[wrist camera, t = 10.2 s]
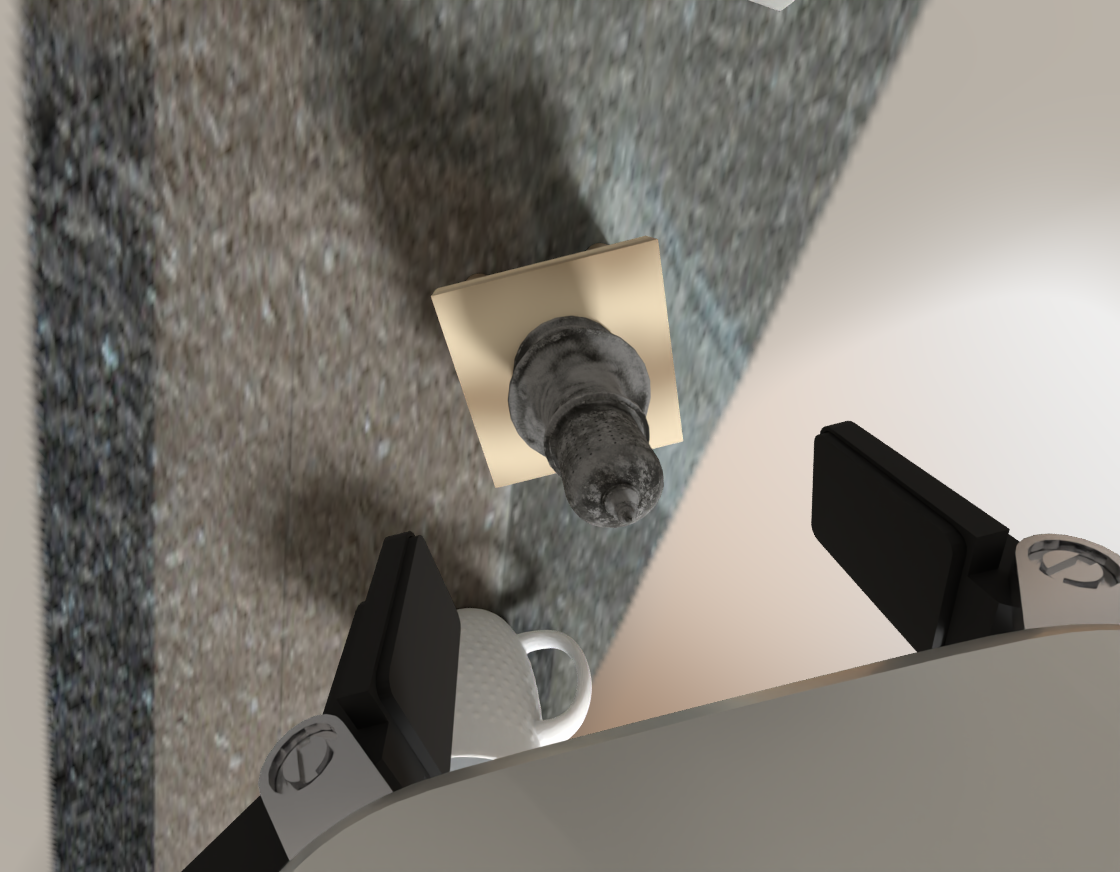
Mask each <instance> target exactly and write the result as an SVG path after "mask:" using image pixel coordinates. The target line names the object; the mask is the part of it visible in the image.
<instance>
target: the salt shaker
mask: <svg viewBox="0 0 1120 872" xmlns="http://www.w3.org/2000/svg"><path fill="white" fill-rule="evenodd" d="M650 399H651V388H650V378H649V375H648V372H647V369H646V366H645V363H644V362H643V360H642V359H641V357H640V356H639V355H638V353H637V352H636V350H635V349H634V348H633V347H632V346H631V345H629V344H628V343H627V342H626V341H624V340H623V339H622V338H621V337H619V336H617V335H614V334H612V333H611V332H610V331H608V330H607V329H606V328H605V327H603V326H602V325H601V324H600V323H598V322H595V321H593V320H591V319H588V318H586V317H578V316H564V317H557V318H554V319H551V320H549V321H546V322H544V323H542V324H540V325H539V326H538V327H536V328H535V329H534V330H532V331H531V332H530V333H529V334H528V335H527V337H526V338H525V339H524V341H523V342H522V343H521V344H520V346H519V349H518V351H517V354H516V356H515V359H514V367H513V375H512V378H511V380H510V384H509V392H508V406H509V412H510V418H511V420H512V423H513V425H514V427H515V429H516V431H517V433H518V435H519V436H520V437H521V438H522V439H523V440H524V441H525V442H526V444H527V445H528V446H529V447H530V448H532V449H533V450H535V451H537V452H538V453H540V454H541V455H543V456H545V457H546V458H547V460H548V463H549V465H550V467H551V468H552V469H553V470H554V471H555V472H556V473H557V474H558V475H559V476H560V477H562V481H563V485H564V490H565V494H566V497H567V500H568V502H569V504H570V506H571V507H572V509H573V510H574V511H575V513H576V514H577V515H578V516H579V517H580V518H581V519H583V520H585V521H586V522H588V523H590V524H592V525H596V526H599V527H610V528H617V527H623V526H627V525H630V524H632V523H635V522H637V521H638V520H640V519H642V518H643V517H645V516H646V515H647V514H648V513H649V512H650V511H651V510H652V509H653V508H654V507H655V505H656V503H657V502H658V500H659V499H660V497H661V494H662V490H663V487H664V483H663V470H662V467H661V465H660V462H659V459H658V458H657V456H656V454H655V453H654V451H653V450H652V448H651V446H650V445H649V440H650V431H649V425H648V422H647V419H646V415H647V412H648V408H649V403H650Z"/></svg>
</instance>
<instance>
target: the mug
mask: <svg viewBox="0 0 1120 872" xmlns="http://www.w3.org/2000/svg"><path fill="white" fill-rule="evenodd" d="M457 612H458V614H459V618H460V623H461V634H460V647H459V661H458V674H457V687H456V700H455V713H454V726H453V740H452V753H451V766H450V772H451V771H454V770H458V769H461V768H465V767H469V766H472V765H476V764H479V763H483V762H487V761H490V760H494V759H497V758H501V757H505V756H508V755H512V754H516V753H519V752H523V751H526V750H530V749H534V748H538V747H542V746H546V745H550V744H554V743H557V742H561V741H565V740H568V739H569V738H570V737H571V736H572V735H573V734H574V733H575V732H576V731H577V730H578V728H579V727H580V726H581V724H582V722H583V720H584V718H585V716H586V714H587V711H588V708H589V704H590V700H591V692H592V684H591V675H590V670H589V666H588V663H587V660H586V657H585V655H584V653H583V651H582V650H581V648H580V647H579V645H578V644H577V643H576V642H575V641H574V640H573V639H572V638H571V637H570V636H568V635H566V634H564V633H562V632H559V631H554V630H537V631H531V632H525V633H521V634H516V633H515V632H514V631H513V629H512V628H511V627H510V626H509V625H508V624H507V623H506V622H505V621H504V620H503V619H502V618H501V617H499V616H498V615H496V614H494V613H492V612H490V611H487V610H483V609H477V608H464V609H458V610H457ZM544 648H557V649H560V650H563V651H565V652H566V653H567V654H568V655H569V656H570V657H571V659H572V660H573V662H574V665H575V667H576V670H577V690H576V694H575V698H574V700H573V702H572V704H571V705H570V707H569V708H568V710H567V711H565V712H564V713H563V714H561V715H559V716H558V717H556V718H553V719H549V720H542V717H541V707H540V702H539V697H538V689H537V686H536V682H535V677H534V673H533V670H532V667H531V663H530V661H529V659H528V657H527V653H528V652H531V651H534V650H538V649H544Z"/></svg>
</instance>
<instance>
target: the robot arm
mask: <svg viewBox="0 0 1120 872" xmlns="http://www.w3.org/2000/svg"><path fill="white" fill-rule="evenodd" d="M811 523H812V524H811V525H812V530H813V533H814V535H815V537H816V538H817V539H818V541H819V542H820V543H821V544H822V545H823V547H824V548H825V549H826V550H827V551H828V552H829V553H830V555H831V556H832V557H833V558H834V559H835V560H836V561H837V562H838V564H839V565H840V566H841V567H842V568H843V569H844V570H845V571H846V573H847V574H848V575H849V576H850V577H851V578H852V579H853V580H854V582H855V583H856V584H857V585H858V586H859V587H860V588H861V589H862V591H863V592H864V593H865V594H866V595H867V596H868V597H869V598H870V600H871V601H872V602H873V603H874V604H875V605H876V606H877V608H878V609H879V610H880V611H881V612H882V613H883V614H884V615H885V617H886V618H888V620H889V621H890V622H891V623H892V624H893V626H894V627H895V628H896V629H897V630H898V631H899V632H900V633H901V635H902V636H903V637H904V638H905V639H906V640H907V641H908V642H909V644H910V645H911V646H912V647H913V648H914V649H915V650H916V651H917V653H913V654H908V655H904V656H900V657H896V658H892V659H888V660H884V661H880V662H875V663H871V664H868V665H863V666H859V667H855V668H851V669H847V670H843V671H839V672H835V673H831V674H827V675H823V676H818V677H814V678H811V679H806V680H802V681H798V682H794V683H790V684H786V685H782V686H778V687H774V688H770V689H766V690H762V691H758V692H754V693H750V694H746V695H742V696H738V697H734V698H730V699H726V700H722V701H718V702H714V703H710V704H706V705H702V706H698V707H694V708H690V709H686V710H682V711H678V712H674V713H671V714H667V715H663V716H659V717H655V718H651V719H647V720H643V721H639V722H635V723H631V724H627V725H623V726H620V727H616V728H612V729H608V730H604V731H600V732H596V733H593V734H588V735H585V736H581V737H577V738H573V739H569V740H565V741H561V742H557V743H554V744H550V745H546V746H542V747H538V748H534V749H530V750H526V751H523V752H519V753H516V754H512V755H508V756H505V757H501V758H497V759H494V760H490V761H487V762H483V763H479V764H476V765H472V766H469V767H465V768H461V769H458V770H454V771H451V772H450V766H451V753H452V740H453V726H454V713H455V700H456V687H457V674H458V661H459V647H460V634H461V623H460V618H459V614H458V612H457V610H456V608H455V605H454V603H453V601H452V599H451V597H450V594H449V592H448V590H447V588H446V586H445V584H444V581H443V579H442V577H441V575H440V573H439V571H438V568H437V566H436V564H435V562H434V560H433V558H432V555H431V553H430V551H429V549H428V547H427V545H426V542H425V540H424V538H423V537H422V536H421V535H418V536H415V535H414V534H413V533H412V532H411V531H408V532H404V533H401V534H397V535H393V536H389V537H386V538H385V540H384V542H383V546H382V549H381V552H380V555H379V559H378V562H377V565H376V568H375V572H374V575H373V578H372V582H371V585H370V588H369V591H368V595H367V598H366V601H365V602H362V603H361V604H360V605H359V606H358V608H357V610H356V612H355V615H354V618H353V621H352V625H351V628H350V631H349V634H348V637H347V640H346V643H345V646H344V650H343V653H342V656H341V659H340V662H339V665H338V668H337V671H336V674H335V678H334V681H333V684H332V687H331V690H330V693H329V696H328V699H327V703H326V706H325V709H324V712H323V715H318V716H313V717H311V718H309V719H307V720H304V721H302V722H301V723H299V724H298V725H296V726H295V727H293V728H292V729H291V730H289V731H288V732H287V733H286V734H285V735H284V736H283V737H282V738H281V739H280V740H279V741H278V742H277V743H276V745H275V746H274V747H273V749H272V750H271V752H270V753H269V754H268V756H267V758H266V760H265V762H264V764H263V766H262V768H261V771H260V777H259V782H258V785H259V791H260V796H259V797H258V798H257V799H256V800H255V801H254V802H253V803H252V804H251V805H250V806H249V807H248V808H247V809H246V810H245V811H243V812H242V813H241V814H240V815H239V816H238V817H237V818H236V819H235V820H234V821H233V822H232V823H231V824H230V825H229V826H228V827H227V828H226V829H225V830H224V831H223V832H222V833H221V834H220V835H219V836H218V837H217V838H216V839H215V840H214V841H213V842H211V843H210V844H209V845H208V846H207V847H206V848H205V849H204V850H203V851H202V852H201V853H200V854H199V855H198V856H197V857H196V858H195V859H194V860H193V861H192V862H191V863H190V864H189V865H188V866H187V867H186V868H185V869H184V870H183V871H182V872H1120V556H1119V555H1118V554H1116V553H1114V552H1112V551H1111V550H1109V549H1107V548H1105V547H1103V546H1101V545H1099V544H1096V543H1093V542H1090V541H1088V540H1085V539H1081V538H1077V537H1072V536H1068V535H1059V534H1039V535H1033V536H1030V537H1027V538H1024V539H1023V540H1022V541H1020V542H1019V541H1018V540H1016V539H1015V538H1014V537H1012V536H1011V535H1009V534H1008V533H1009V528H1007V527H1006V526H1004V525H1003V524H1001V523H1000V522H998V521H997V520H995V519H994V518H993V517H991V516H990V515H988V514H987V513H985V512H984V511H982V510H981V509H979V508H978V507H976V506H975V505H973V504H972V503H971V502H969V501H968V500H966V499H965V498H963V497H962V496H960V495H959V494H958V493H956V492H955V491H953V490H952V489H950V488H949V487H947V486H946V485H944V484H943V483H941V482H940V481H939V480H937V479H936V478H934V477H932V476H931V475H930V474H928V473H927V472H925V471H924V470H923V469H921V468H920V467H918V466H917V465H915V464H914V463H912V462H910V461H909V460H908V459H906V458H905V457H903V456H902V455H901V454H899V453H898V452H896V451H895V450H893V449H892V448H890V447H889V446H888V445H886V444H884V443H883V442H882V441H880V440H879V439H877V438H876V437H874V436H873V435H871V434H870V433H869V432H867V431H865V430H864V429H863V428H861V427H860V426H858V425H857V424H855V423H853V422H852V421H845V422H841V423H837V424H833V425H829V426H825V427H823V428H822V430H821V431H820V434H819V435H817V436H816V437H815V440H814V463H813V492H812V521H811Z"/></svg>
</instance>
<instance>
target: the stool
mask: <svg viewBox="0 0 1120 872" xmlns="http://www.w3.org/2000/svg"><path fill="white" fill-rule="evenodd" d="M431 298H432V301H433V304H434V307H435V310H436V313H437V316H438V319H439V322H440V325H441V328H442V331H443V334H444V336H445V339H446V342H447V345H448V348H449V351H450V354H451V357H452V360H453V363H454V366H455V369H456V372H457V375H458V378H459V381H460V384H461V387H462V390H463V393H464V396H465V399H466V402H467V405H468V407H469V410H470V413H471V416H472V419H473V422H474V425H475V428H476V431H477V434H478V437H479V440H480V443H481V446H482V449H483V452H484V455H485V458H486V461H487V464H488V467H489V470H490V473H491V475H492V478H493V481H494V484H495V487H496V488H498V487H502V486H506V485H510V484H514V483H518V482H522V481H526V480H530V479H534V478H538V477H542V476H546V475H550V474H554V473H556V472H555V471H554V470H553V469H552V468H551V467H550V465H549V463H548V460H547V458H546V457H545V456H543V455H541V454H540V453H538V452H537V451H535V450H533V449H532V448H530V447H529V446H528V445H527V444H526V442H525V441H524V440H523V439H522V438H521V437H520V436H519V435H518V433H517V431H516V429H515V427H514V425H513V423H512V420H511V418H510V412H509V406H508V392H509V384H510V380H511V378H512V375H513V367H514V359H515V356H516V354H517V351H518V349H519V346H520V344H521V343H522V342H523V341H524V339H525V338H526V337H527V335H528V334H529V333H530V332H531V331H532V330H534V329H535V328H536V327H538V326H539V325H540V324H542V323H544V322H546V321H549V320H551V319H554V318H557V317H564V316H578V317H586V318H588V319H591V320H593V321H595V322H598V323H600V324H601V325H602V326H603V327H605V328H606V329H607V330H608V331H610V332H611V333H612V334H614V335H617V336H619V337H621V338H622V339H623V340H624V341H626V342H627V343H628V344H629V345H631V346H632V347H633V348H634V349H635V350H636V352H637V353H638V355H639V356H640V357H641V359H642V360H643V362H644V363H645V366H646V369H647V372H648V375H649V378H650V388H651V399H650V403H649V408H648V412H647V415H646V419H647V422H648V425H649V431H650V440H649V445H650V446H651V448H652V449H654V448H658V447H662V446H666V445H670V444H674V443H678V442H682V441H683V436H682V428H681V420H680V412H679V404H678V396H677V388H676V380H675V372H674V364H673V356H672V348H671V340H670V332H669V324H668V316H667V308H666V300H665V292H664V284H663V276H662V268H661V260H660V252H659V244H658V239H655V238H652V237H648V236H643V237H639V238H635V239H631V240H627V241H623V242H619V243H615V244H611V245H606V244H604V243H596V244H593V245H592V246H590V247H589V248H588V249H587V251H584V252H580V253H576V254H572V255H568V256H564V257H560V258H556V259H552V260H548V261H544V262H540V263H536V264H532V265H528V266H524V267H520V268H516V269H512V270H508V271H504V272H500V273H496V274H492V275H488V276H487V275H485V274H480V273H477V274H473V275H471V276H470V277H469V278H468V279H467V280H466V281H464V282H461V283H457V284H453V285H449V286H445V287H441V288H437V289H436V290H435V291H434V293H433V294H432V296H431Z"/></svg>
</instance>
